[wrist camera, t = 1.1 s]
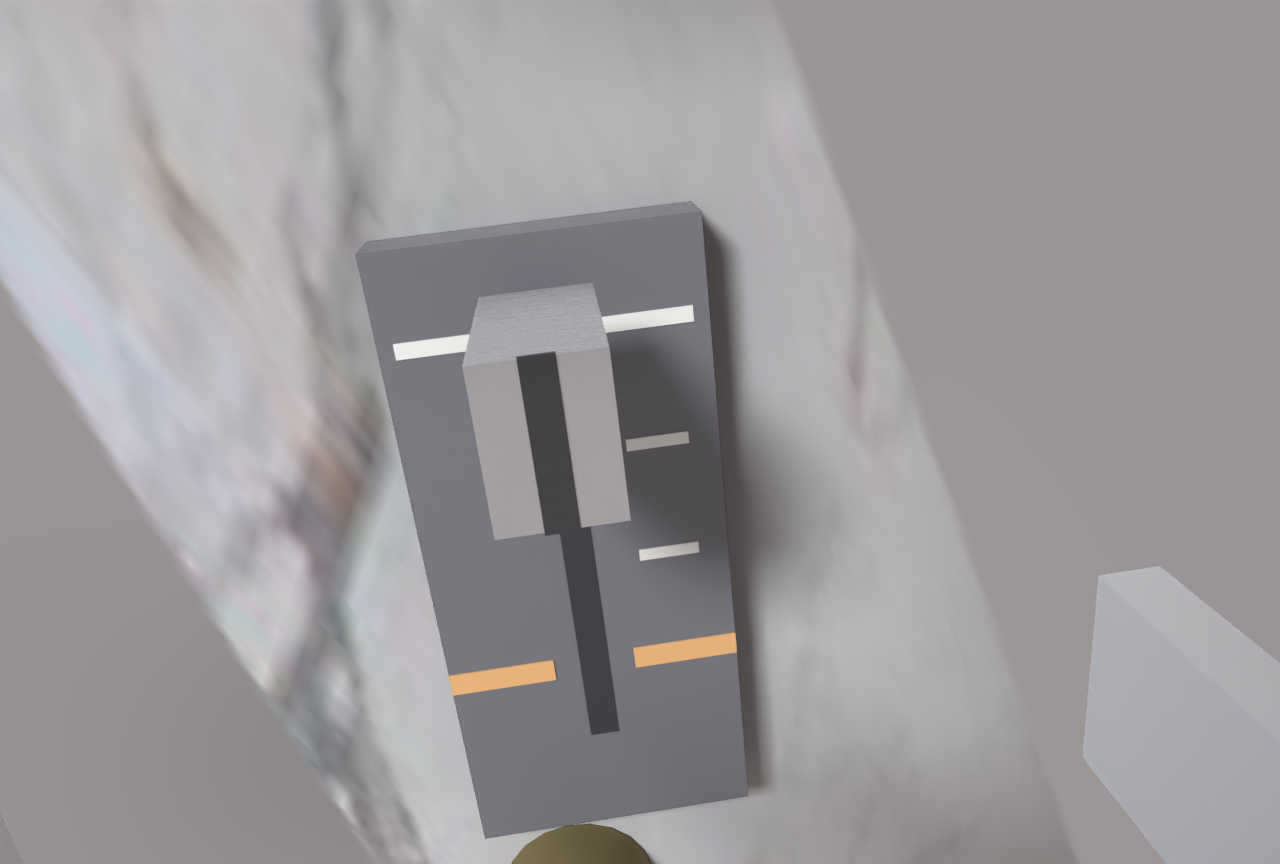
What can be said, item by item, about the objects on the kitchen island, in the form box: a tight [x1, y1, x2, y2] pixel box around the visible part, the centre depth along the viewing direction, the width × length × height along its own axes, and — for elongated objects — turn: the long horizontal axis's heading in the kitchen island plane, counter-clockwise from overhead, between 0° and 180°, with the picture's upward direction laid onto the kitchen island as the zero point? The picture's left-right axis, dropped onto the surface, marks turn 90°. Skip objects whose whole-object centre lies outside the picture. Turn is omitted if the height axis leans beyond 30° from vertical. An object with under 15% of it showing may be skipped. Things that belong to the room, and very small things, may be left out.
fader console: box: [356, 201, 748, 839], centre depth 32 cm, size 22×10×2 cm, turn 6°
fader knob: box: [462, 283, 631, 540], centre depth 24 cm, size 4×3×9 cm
